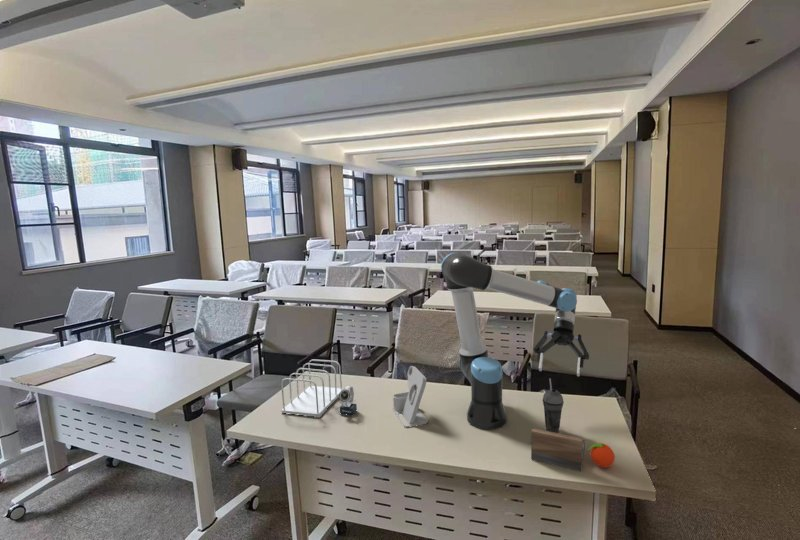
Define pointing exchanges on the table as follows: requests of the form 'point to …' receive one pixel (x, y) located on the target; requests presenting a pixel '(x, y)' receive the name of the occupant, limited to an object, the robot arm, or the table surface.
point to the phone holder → (411, 399)
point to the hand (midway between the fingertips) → (558, 372)
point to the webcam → (347, 401)
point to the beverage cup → (552, 409)
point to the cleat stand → (557, 449)
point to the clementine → (602, 455)
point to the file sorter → (312, 393)
